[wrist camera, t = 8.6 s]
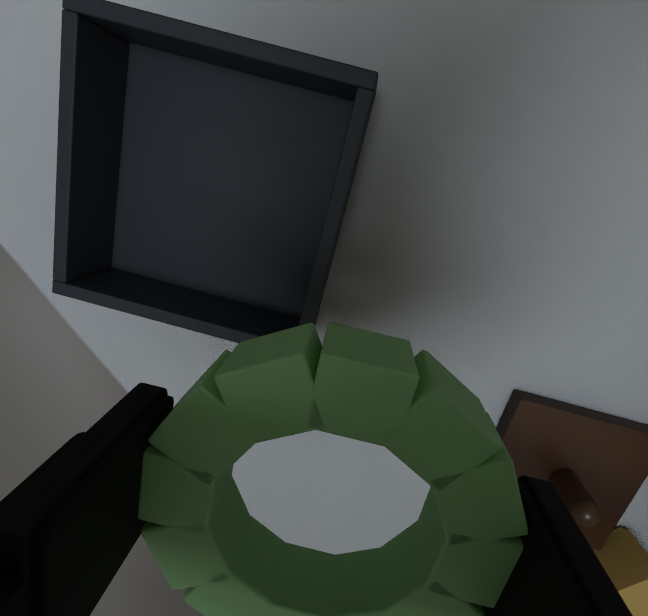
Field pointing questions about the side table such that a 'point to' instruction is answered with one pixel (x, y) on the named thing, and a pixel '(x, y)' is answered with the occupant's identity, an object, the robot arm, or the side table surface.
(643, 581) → the rubber stamp
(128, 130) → the bin
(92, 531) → the robot arm
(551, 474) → the stand
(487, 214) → the side table surface
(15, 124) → the side table surface
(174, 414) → the ring
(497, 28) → the side table surface
